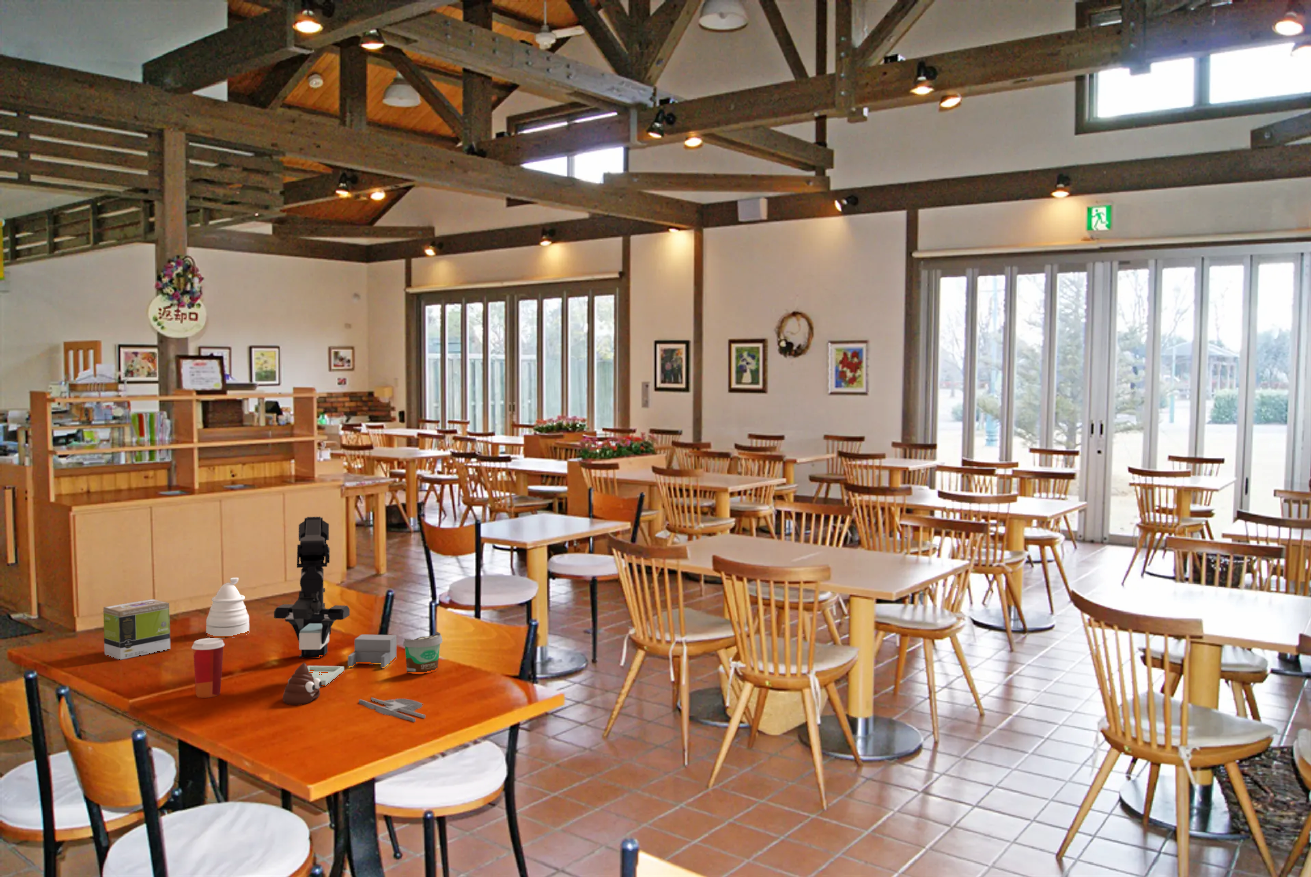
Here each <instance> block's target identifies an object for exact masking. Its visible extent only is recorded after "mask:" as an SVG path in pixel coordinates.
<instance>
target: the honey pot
mask: <svg viewBox="0 0 1311 877" xmlns="http://www.w3.org/2000/svg"><path fill="white" fill-rule="evenodd" d="M239 578H240V577H231V578H229V580H230V582H226V583H223V584H222V585H221V587H220V588H219V589H218V591H217V592H216V595H215V596H212V598H211V602H212V604H211V607H210V608H209V612H208V615H207V617H206V623H205V624H206V627H205V629H206V630H205V634H206V633H208V634H210V635H213V636H233V635H237V634H240V633H245V632H247V631H249V632H250V615H249V613H248V611H247V609H246V608H247V607H246V605H245V602H244V600H245V599H246V597H245V595H243V594H240V592H239V590H238V588H237V587H236V584H238V582H239V580H240V579H239Z"/></svg>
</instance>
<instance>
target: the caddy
mask: <svg viewBox="0 0 1311 877" xmlns="http://www.w3.org/2000/svg"><path fill="white" fill-rule="evenodd" d="M321 637H322V624H308V625H307V626H306V627H304V628H303V629H302V630H300V633H299V641H298V644H299V645H298V648H299V649H298V650H300V651H301V650H313V649H321V648H322V647H323V646H324V645H326V644H327V643H330V635H329V633H328V636H327V638H326V641H325V643H324V644H322V641H321Z"/></svg>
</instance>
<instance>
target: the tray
mask: <svg viewBox="0 0 1311 877" xmlns="http://www.w3.org/2000/svg"><path fill="white" fill-rule="evenodd" d="M307 667H308V670H309V672H313V673H311V674H312V676H313V678H314V679H315V678H318V679H320V680H321V682H322V685H325V686H326V685H327V684H328V683H329V684H331V683H332V682H333V681H334V680H333V679H335V678H336V677H337V676H338V675H339V674H341V673H342V672H343V671H344V672H345V666H339V665H338V666H337V665H307ZM310 670H314V671H310ZM319 672H320V673H319ZM321 672H328V673H321ZM319 674H320V675H319ZM321 674H322V675H321ZM342 674H343V673H342ZM342 674H341V675H342ZM338 677H339V676H338ZM338 677H337V678H338ZM337 678H336V679H337ZM290 679H291V677H290V678H289V679H288V680H287V682H289V680H290ZM336 679H335V680H336ZM332 680H333V681H332ZM331 681H332V682H331ZM330 682H331V683H330ZM329 684H328V685H329ZM328 685H327V686H328ZM327 686H326V687H327Z"/></svg>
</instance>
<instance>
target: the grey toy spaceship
mask: <svg viewBox="0 0 1311 877" xmlns="http://www.w3.org/2000/svg"><path fill="white" fill-rule="evenodd" d="M371 700H372V701H371ZM370 701H371V702H369V701H367V700H363V699H361V698H360V699H358V704H359V705H362V706H364V707H366V708H368V709H371V710H375V712H377V713H378V714H382V715H385V716H392V717H395V718H399V719H403V720H405V721H407V720H408V721H410V722H413V723H415V722H416V717H419V718H421V719H426V714H422V713H420V712H417V710H418V709H421V708H423V705H422V704H423V703H422V702H419V701H417V700H413V699H407V698H395V699H387V700H385V699H384V700H382V699H377V698H374V697H373V696H372V697H371V698H370ZM374 701H375V702H374ZM372 702H374V703H372ZM377 702H378V703H377ZM375 703H377V704H375ZM379 704H380V705H379ZM383 704H384V705H383ZM381 705H383V706H381ZM400 712H401V713H400ZM404 713H405V714H404ZM410 715H412V716H415V717H412V716H410Z"/></svg>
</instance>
